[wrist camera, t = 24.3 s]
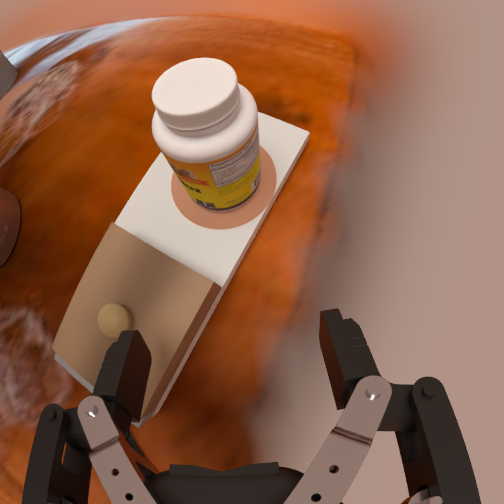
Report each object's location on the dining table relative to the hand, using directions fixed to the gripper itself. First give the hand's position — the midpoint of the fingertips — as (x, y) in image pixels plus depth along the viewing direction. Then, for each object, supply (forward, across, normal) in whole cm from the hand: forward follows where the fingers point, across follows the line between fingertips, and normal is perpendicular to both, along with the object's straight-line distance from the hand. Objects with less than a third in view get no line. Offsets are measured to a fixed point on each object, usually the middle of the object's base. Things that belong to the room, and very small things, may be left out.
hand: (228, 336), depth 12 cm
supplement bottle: (+12, 0, -3) cm, 13 cm away
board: (+11, +4, +1) cm, 12 cm away
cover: (+6, +7, +4) cm, 10 cm away
